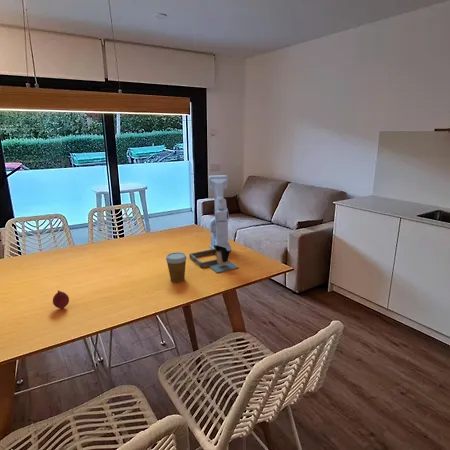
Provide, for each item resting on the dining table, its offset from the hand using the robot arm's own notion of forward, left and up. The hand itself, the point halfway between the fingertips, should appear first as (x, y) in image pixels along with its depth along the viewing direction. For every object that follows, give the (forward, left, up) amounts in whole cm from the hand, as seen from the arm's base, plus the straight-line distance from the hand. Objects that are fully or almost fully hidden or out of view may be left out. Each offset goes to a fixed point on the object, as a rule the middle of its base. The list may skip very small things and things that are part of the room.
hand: (222, 260), depth 171 cm
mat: (+1, 0, -4) cm, 4 cm away
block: (0, 0, -2) cm, 2 cm away
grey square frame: (-12, -2, -4) cm, 13 cm away
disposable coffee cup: (+3, -25, -4) cm, 25 cm away
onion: (+5, -74, -4) cm, 74 cm away
